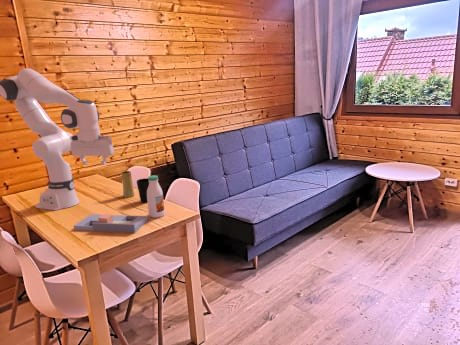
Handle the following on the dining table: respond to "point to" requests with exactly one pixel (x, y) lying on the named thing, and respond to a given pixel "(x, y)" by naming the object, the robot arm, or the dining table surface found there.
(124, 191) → the vase
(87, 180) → the dining table surface
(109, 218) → the block
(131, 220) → the board
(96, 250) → the dining table surface
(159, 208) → the milk bottle
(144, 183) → the cup
